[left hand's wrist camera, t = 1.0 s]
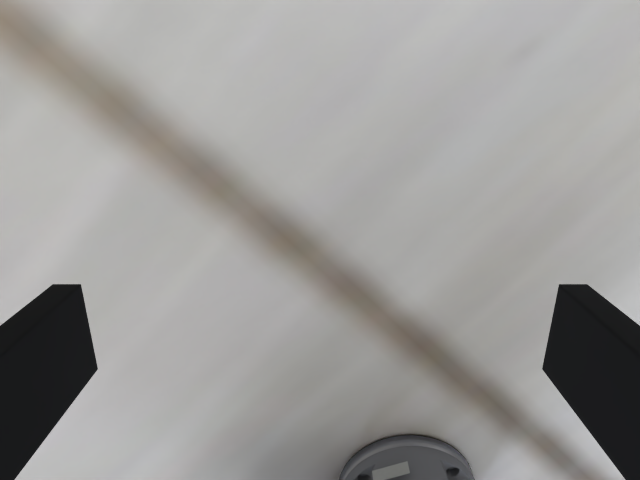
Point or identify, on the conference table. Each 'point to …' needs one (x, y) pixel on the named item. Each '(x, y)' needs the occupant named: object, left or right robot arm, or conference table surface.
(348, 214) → the conference table surface
